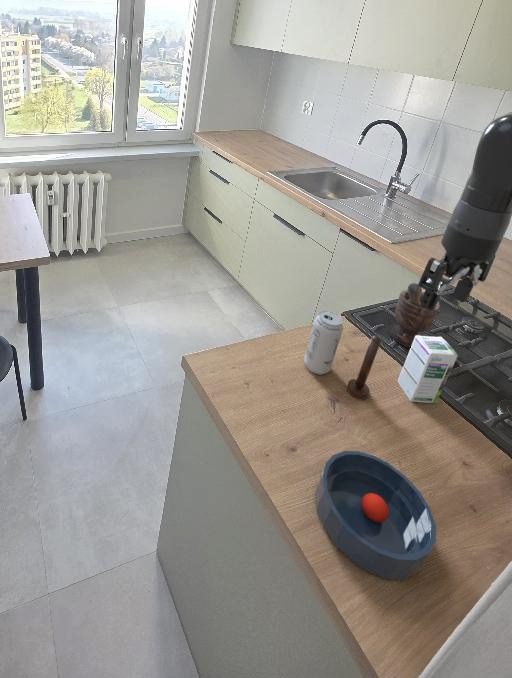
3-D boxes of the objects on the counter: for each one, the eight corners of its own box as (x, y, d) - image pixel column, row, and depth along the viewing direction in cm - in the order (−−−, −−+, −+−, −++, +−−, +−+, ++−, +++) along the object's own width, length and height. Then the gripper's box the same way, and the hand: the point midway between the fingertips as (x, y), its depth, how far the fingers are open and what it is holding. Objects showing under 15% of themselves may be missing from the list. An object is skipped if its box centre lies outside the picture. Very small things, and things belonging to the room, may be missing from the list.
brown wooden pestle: (355, 381, 98) (375, 327, 91) (372, 396, 94) (393, 341, 88) (342, 387, 96) (361, 332, 90) (358, 402, 93) (379, 346, 86)
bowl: (364, 460, 80) (372, 440, 78) (447, 558, 66) (461, 536, 64) (294, 487, 75) (301, 466, 73) (369, 600, 61) (381, 578, 59)
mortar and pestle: (420, 362, 104) (448, 298, 96) (381, 346, 109) (405, 283, 101) (424, 337, 113) (450, 275, 105) (388, 322, 117) (410, 263, 109)
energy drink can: (327, 380, 98) (343, 331, 92) (300, 369, 101) (314, 320, 95) (331, 364, 103) (346, 315, 96) (305, 353, 105) (319, 306, 99)
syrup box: (410, 402, 93) (432, 353, 87) (395, 381, 99) (415, 333, 93) (436, 404, 93) (459, 355, 87) (420, 382, 98) (441, 335, 93)
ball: (384, 495, 72) (388, 496, 69) (388, 524, 70) (392, 526, 67) (358, 490, 74) (361, 490, 71) (361, 518, 72) (363, 520, 69)
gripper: (470, 244, 66) (435, 324, 72) (527, 232, 70) (490, 309, 77) (425, 222, 72) (397, 297, 79) (481, 213, 77) (449, 285, 83)
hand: (443, 303), depth 78 cm, fingers open, 8 cm apart
